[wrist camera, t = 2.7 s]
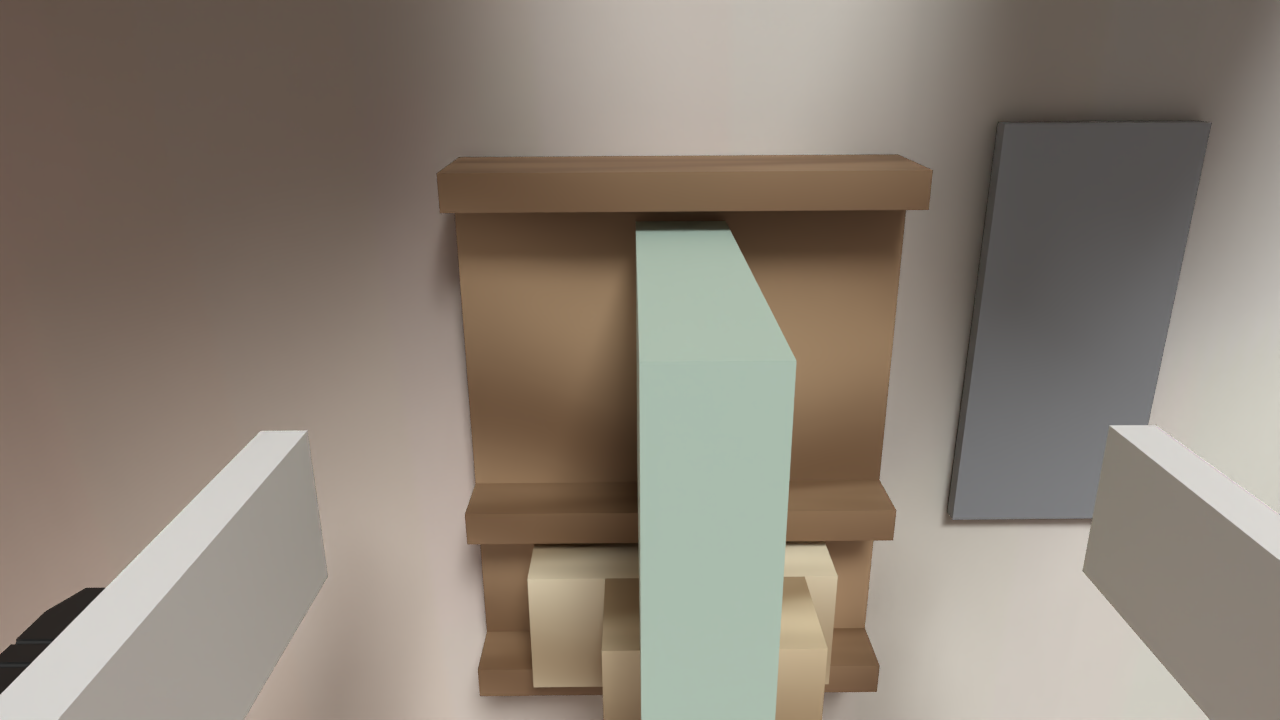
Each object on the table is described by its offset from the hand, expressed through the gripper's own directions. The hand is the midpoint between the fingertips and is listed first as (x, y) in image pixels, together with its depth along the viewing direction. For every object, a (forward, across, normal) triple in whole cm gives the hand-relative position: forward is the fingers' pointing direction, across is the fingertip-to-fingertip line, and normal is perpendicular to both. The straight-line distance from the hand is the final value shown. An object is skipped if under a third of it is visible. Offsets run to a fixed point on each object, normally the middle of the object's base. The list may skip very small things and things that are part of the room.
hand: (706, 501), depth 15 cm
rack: (+8, 0, -2) cm, 8 cm away
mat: (+8, +9, 0) cm, 12 cm away
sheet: (+7, 0, 0) cm, 7 cm away
